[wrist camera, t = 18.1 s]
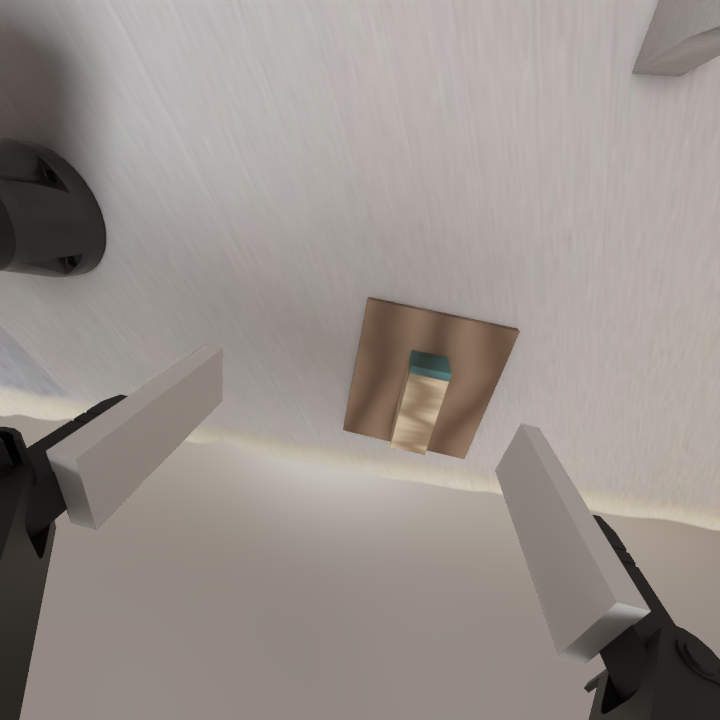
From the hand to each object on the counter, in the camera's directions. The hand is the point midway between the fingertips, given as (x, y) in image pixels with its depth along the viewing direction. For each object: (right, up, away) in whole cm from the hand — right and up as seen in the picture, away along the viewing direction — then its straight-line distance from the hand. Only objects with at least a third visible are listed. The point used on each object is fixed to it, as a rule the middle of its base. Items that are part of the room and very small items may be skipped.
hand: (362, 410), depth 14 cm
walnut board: (+8, -1, +28) cm, 29 cm away
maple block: (+6, -9, +28) cm, 30 cm away
